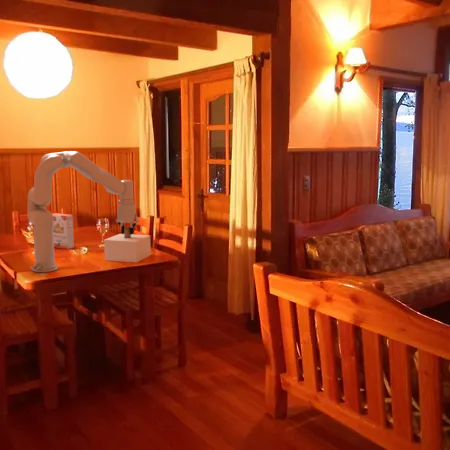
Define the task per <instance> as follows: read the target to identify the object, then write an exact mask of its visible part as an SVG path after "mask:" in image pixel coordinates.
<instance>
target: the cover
mask: <svg viewBox="0 0 450 450" xmlns="http://www.w3.org/2000/svg"><path fill="white" fill-rule="evenodd" d="M130 228H131V226H125V227H124V234H122V233H118V234H115V235H113V236H111V237H108V238H105V239H104V240H103V246H104V261H111V262H124V263H138V262H140V261H142V260H144V259H146V258H148V257H149V256H151V253H152V252H151V235H147V234H135V233H134V234H132V235H130Z"/></svg>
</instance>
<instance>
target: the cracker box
mask: <svg viewBox="0 0 450 450" xmlns="http://www.w3.org/2000/svg"><path fill="white" fill-rule="evenodd" d="M52 215H53V218H54V225H53V239H54V249H56V248H57V249H62V250H71V249H74V248H75V235H74V233H75V232H74V218H73V217H74V216H73V214H68V213H67V214H66V213H65V214H64V213H59V212H58V213H52Z"/></svg>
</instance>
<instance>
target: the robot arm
mask: <svg viewBox="0 0 450 450" xmlns="http://www.w3.org/2000/svg"><path fill="white" fill-rule="evenodd" d="M40 158H41V159H40V163H39V164H38V166H37V168H36V170H35V173H34V180H33V181H34V182H33V183H34V184H33V187H32V188H30V189H29V191H28V193H27V201H26V202H27V203H26V204H27V208H26V209H27V212H26V214H27V219H28V222H30V224H32V225H33V246H34V247H33V249H34V258H35V259H34V265H31V266H30V270H31V271H33V272H35V273H50V272H54V271H57V270H59V265H56V263H55V261H56V260H55V247H54V239H53V225H54V218H53V215H52V214H53V213H52V212H51V211H50V210H48V209H47V206H49V205H50V204H51V202H52V201H53V194H52V193H53V178H54V175H55V173H57V172H58V171H59V170H61V169H65V168H73V169H74V170H75V171H76V172H78V173H80V174H81V175H83V176H84V177H86V178H87V179H89V180H91V181H92V182H95V183H98V184H100V185H101V186H103V187H104V190H105V192H107V193H109V194H112V195H117V196H118V195H119V199H117V203H119V204H118V207H117V215H116V218H115V222H116V223H117V224H118V225H119V226H120V232H121V234H124V227H126V226H125V224H127V223H129V227H131V228H130V235H132V234H134V235H135V227H136V225H138V224H139V223H140V220H139V218H138V217H137V209H136V204H135V201H134V181H133V180H131V179H122V180H121V179H119V178H118V177H116V176H115V175H113V174H112V173H110V172H109V171H107V170H106V169H104V168H102V167H101V166H99V165H97V163H94V162H93V161H92V160H90V158H88V157H87V156H85V155H84V154H82V153H81V152H79V151H77V150H68V151H67V150H66V151H60V152H59V151H58V152H50V153H46V154H44V155H43V156H42V157H40Z"/></svg>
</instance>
